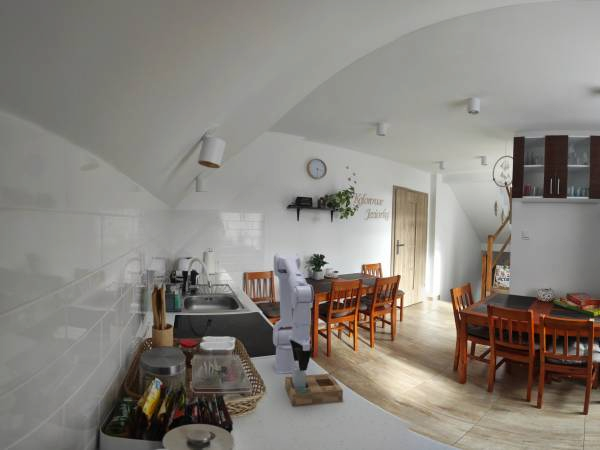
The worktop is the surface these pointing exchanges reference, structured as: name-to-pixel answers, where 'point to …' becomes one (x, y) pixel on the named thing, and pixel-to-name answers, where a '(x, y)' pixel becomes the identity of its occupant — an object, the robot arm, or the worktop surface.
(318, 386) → the port block
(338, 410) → the worktop surface
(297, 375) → the matte gray box
